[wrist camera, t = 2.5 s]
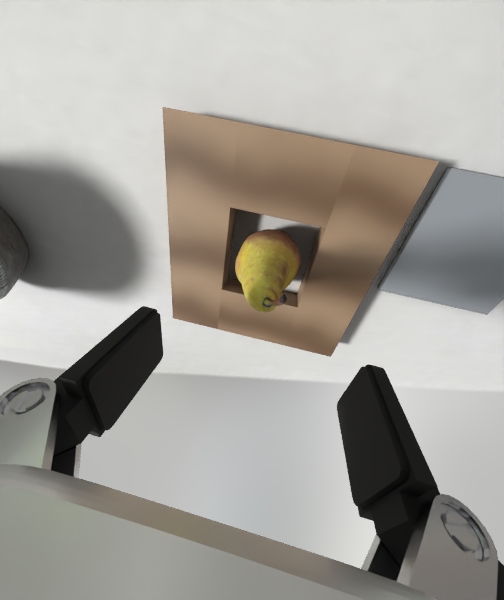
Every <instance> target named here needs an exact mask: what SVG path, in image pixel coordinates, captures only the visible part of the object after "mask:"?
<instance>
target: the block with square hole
mask: <svg viewBox="0 0 504 600" xmlns="http://www.w3.org/2000/svg"><path fill="white" fill-rule="evenodd" d="M163 124H164V144H165V164H166V184H167V204H168V224H169V245H170V265H171V285H172V305H173V318H175V319H179V320H183V321H187V322H191V323H195V324H199V325H203V326H208V327H212V328H216V329H220V330H224V331H228V332H232V333H236V334H240V335H244V336H248V337H253V338H257V339H261V340H265V341H269V342H273V343H277V344H281V345H285V346H289V347H293V348H298V349H302V350H306V351H310V352H314V353H318V354H322V355H326V356H330V357H331V355H332V353H333V352H334V350H335V348H336V346H337V344H338V343H339V341H340V339H341V337H342V335H343V334H344V332H345V330H346V328H347V326H348V325H349V323H350V321H351V319H352V317H353V316H354V314H355V312H356V310H357V308H358V307H359V305H360V303H361V301H362V299H363V298H364V296H365V294H366V292H367V291H368V289H369V287H370V285H371V283H372V282H373V280H374V278H375V276H376V274H377V273H378V271H379V269H380V267H381V265H382V264H383V262H384V260H385V258H386V256H387V255H388V253H389V251H390V249H391V247H392V246H393V244H394V242H395V240H396V238H397V237H398V235H399V233H400V231H401V229H402V228H403V226H404V224H405V222H406V220H407V219H408V217H409V215H410V213H411V211H412V210H413V208H414V206H415V204H416V202H417V201H418V199H419V197H420V195H421V193H422V192H423V190H424V188H425V186H426V184H427V183H428V181H429V179H430V177H431V175H432V174H433V172H434V170H435V168H436V166H437V165H438V163H439V161H435V160H430V159H425V158H419V157H414V156H409V155H404V154H399V153H394V152H389V151H384V150H379V149H374V148H369V147H364V146H358V145H353V144H348V143H343V142H338V141H333V140H328V139H323V138H318V137H313V136H308V135H302V134H297V133H292V132H287V131H282V130H277V129H272V128H267V127H262V126H257V125H252V124H247V123H241V122H236V121H231V120H226V119H221V118H216V117H211V116H206V115H201V114H196V113H191V112H185V111H180V110H175V109H170V108H165V107H163ZM237 209H240V210H245V211H249V212H254V213H259V214H263V215H268V216H272V217H277V218H282V219H286V220H291V221H296V222H300V223H305V224H309V225H314V226H319V227H320V229H319V232H318V235H317V238H316V241H315V244H314V247H313V250H312V253H311V255H310V258H309V261H308V264H307V267H306V270H305V273H304V276H303V279H302V282H301V285H300V288H299V290H298V293H297V294H293V293H289V292H284V291H282V294H281V296H282V295H284V294H285V295H286V297H287V300H286V302H285V303H284V304H283V305H280V306H276V307H275V309H274V310H272V311H270V312H266V313H263V312H259V311H257V310H255V309H254V308H252V307H251V306H250V304H249V303H248V301H247V300H246V298H245V295H244V291H243V288H242V284H241V282H240V281H237V280H233V279H229V278H228V276H229V268H230V259H231V251H232V243H233V235H234V226H235V218H236V210H237Z"/></svg>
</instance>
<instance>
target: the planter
mask: <svg viewBox="0 0 504 600" xmlns="http://www.w3.org/2000/svg"><path fill="white" fill-rule="evenodd" d="M28 259H29V252H28V247H27V244H26V242H25V239H24V237H23V235H22V233H21V232H20V230H19V229H18V227H17V226H16V224H15V223H14V222H13V220H12V219H11V218H10V217H9V216H8V215H7V214H6V213H5V212H4V211H3V210H2V209H1V208H0V299H2V298H3V297H5V296H6V295H7V294H8V292H9V291H10V290H11V289H12V287H13V286H14V285H15V283H16V282H17V280H18V279H19V277H20V275H21V274H22V272H23V270H24V268H25V266H26V264H27V262H28Z"/></svg>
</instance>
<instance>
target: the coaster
mask: <svg viewBox="0 0 504 600" xmlns="http://www.w3.org/2000/svg"><path fill="white" fill-rule="evenodd" d="M378 288H379V290H381V291H385V292H389V293H394V294H398V295H403V296H407V297H411V298H416V299H420V300H425V301H429V302H433V303H438V304H442V305H447V306H451V307H455V308H460V309H464V310H469V311H473V312H477V313H482V314H486V315H487V314H488V313H489V312H490V311H491V310H492V309H493V308H494V307H495V306H496V305H497V304H498V303H499V302H501V301H502V300H503V299H504V178H501V177H495V176H490V175H485V174H480V173H475V172H470V171H465V170H460V169H455V168H447V169H446V171H445V173H444V174H443V176H442V178H441V179H440V181H439V183H438V185H437V186H436V188H435V190H434V191H433V193H432V195H431V197H430V198H429V200H428V202H427V204H426V205H425V207H424V209H423V210H422V212H421V214H420V216H419V217H418V219H417V221H416V222H415V224H414V226H413V228H412V229H411V231H410V233H409V234H408V236H407V238H406V240H405V241H404V243H403V245H402V246H401V248H400V250H399V252H398V253H397V255H396V257H395V258H394V260H393V262H392V264H391V265H390V267H389V269H388V270H387V272H386V274H385V276H384V277H383V279H382V281H381V283H380V284H379V286H378Z"/></svg>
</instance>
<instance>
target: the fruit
mask: <svg viewBox="0 0 504 600" xmlns="http://www.w3.org/2000/svg"><path fill="white" fill-rule="evenodd" d="M300 262H301V255H300V251H299V249H298V246H297V244H296V243H295V242H294V240H293V239H292V238H291V237H290V236H289V235H288V234H287V233H285V232H282V231H279V230H262V231H258V232H255V233H253V234H251V235H250V236H248V237H247V238H246V240H245V241H244V243H243V245H242V247H241V249H240V251H239V253H238V256H237V259H236V263H235V271H236V275H237V277H238V280H239V281H240V282H241V284H242V288H243V291H244V295H245V298H246V300H247V301H248V303H249V304H250V306H251V307H252V308H254V309H255V310H257V311H259V312H263V313H266V312H270V311H272V310H274V309H275V307H276V306H280V305H283V304H284V303H285V302H286V300H287V297H286V295H285V294H284V295H282V296H281V294H282V291H283V290H284V289H285V288H286V287H287V286H288V285H289V284H290V283H291V282H292V280H293V279H294V278H295V276H296V274H297V272H298V270H299V266H300Z"/></svg>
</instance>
